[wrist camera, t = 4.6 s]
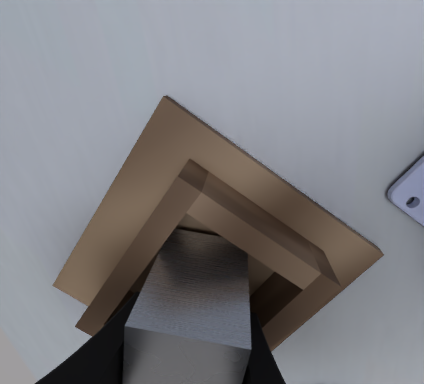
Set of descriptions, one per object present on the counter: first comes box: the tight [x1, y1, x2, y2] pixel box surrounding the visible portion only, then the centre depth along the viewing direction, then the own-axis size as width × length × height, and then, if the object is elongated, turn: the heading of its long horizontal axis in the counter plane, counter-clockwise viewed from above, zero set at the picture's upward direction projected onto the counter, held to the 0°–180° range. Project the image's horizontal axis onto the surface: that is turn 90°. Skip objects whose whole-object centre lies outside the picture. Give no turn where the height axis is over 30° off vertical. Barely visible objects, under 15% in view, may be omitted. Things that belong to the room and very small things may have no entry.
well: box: [53, 96, 384, 351], centre depth 13 cm, size 12×12×3 cm
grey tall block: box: [123, 229, 251, 384], centre depth 11 cm, size 4×5×6 cm
